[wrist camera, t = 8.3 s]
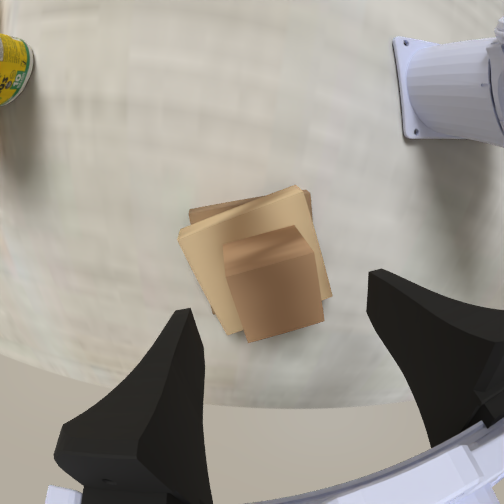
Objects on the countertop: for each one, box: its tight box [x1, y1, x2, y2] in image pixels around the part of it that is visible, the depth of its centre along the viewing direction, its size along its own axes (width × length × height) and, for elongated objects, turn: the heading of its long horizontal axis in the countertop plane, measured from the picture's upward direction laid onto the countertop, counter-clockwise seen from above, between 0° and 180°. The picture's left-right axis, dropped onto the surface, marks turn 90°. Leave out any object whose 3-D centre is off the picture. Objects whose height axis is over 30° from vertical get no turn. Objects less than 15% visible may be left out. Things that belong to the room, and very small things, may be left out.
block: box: [222, 225, 324, 343], centre depth 18 cm, size 4×4×4 cm
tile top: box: [177, 185, 332, 335], centre depth 20 cm, size 8×8×2 cm
